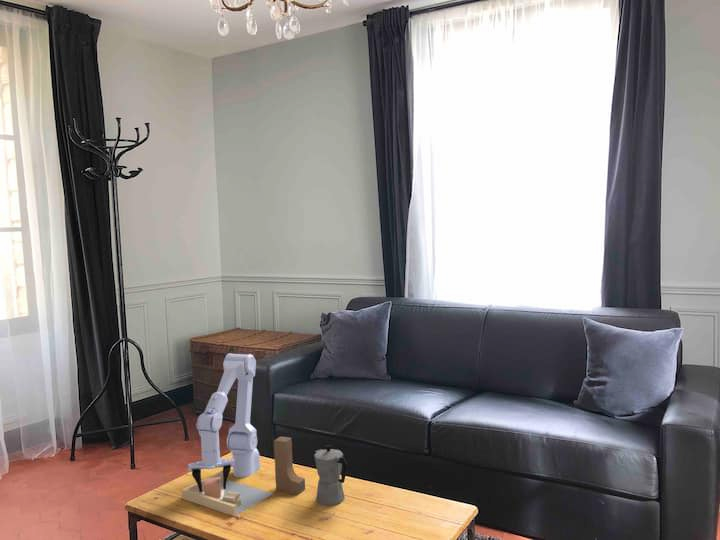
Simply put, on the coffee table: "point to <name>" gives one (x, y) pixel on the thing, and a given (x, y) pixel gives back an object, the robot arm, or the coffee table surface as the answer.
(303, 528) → the coffee table surface
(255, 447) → the robot arm
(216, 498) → the pad
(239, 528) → the coffee table surface
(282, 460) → the wooden block
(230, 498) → the ash block
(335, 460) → the coffeepot
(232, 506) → the arena board
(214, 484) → the terracotta cube
